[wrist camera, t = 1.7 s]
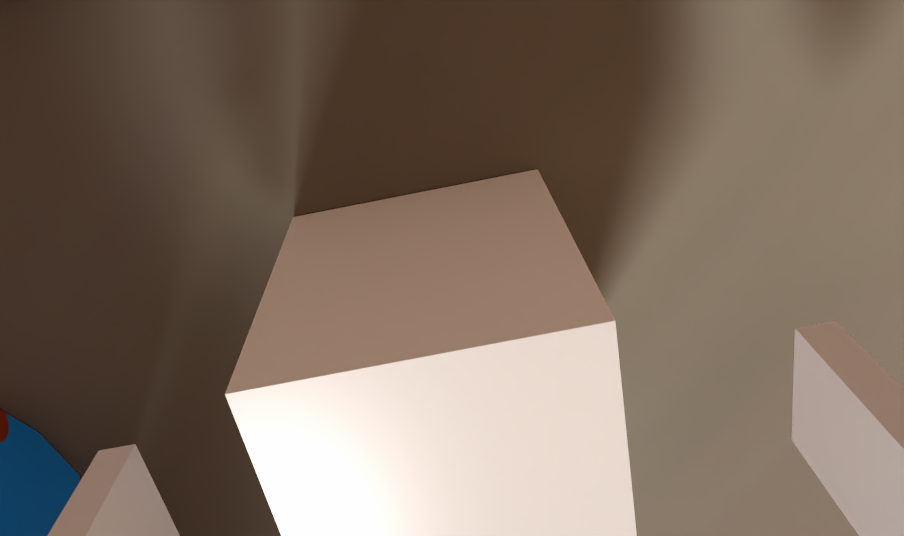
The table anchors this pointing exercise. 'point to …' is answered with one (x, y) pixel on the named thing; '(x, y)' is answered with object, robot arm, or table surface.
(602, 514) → the white tilted cube
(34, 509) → the thermos
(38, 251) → the table surface
